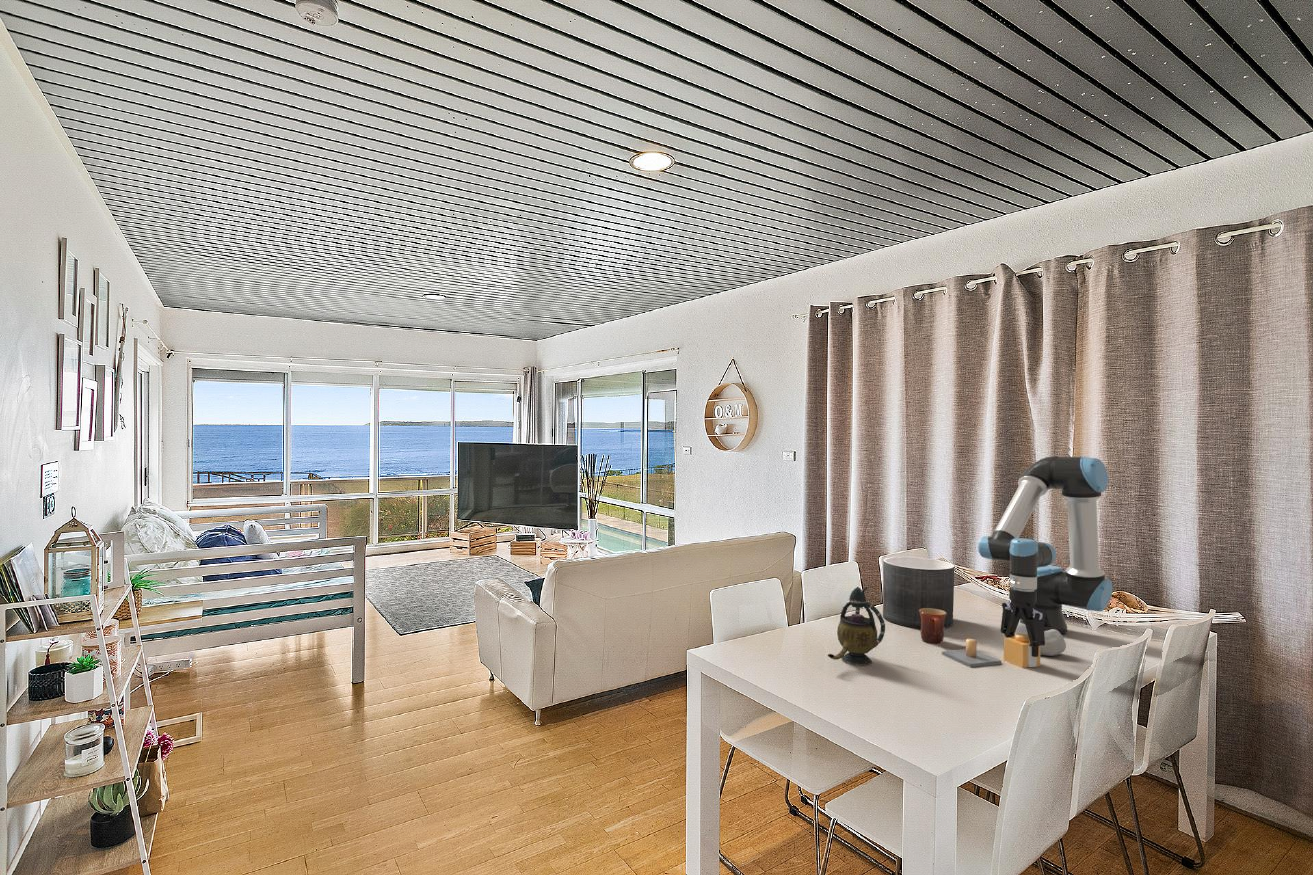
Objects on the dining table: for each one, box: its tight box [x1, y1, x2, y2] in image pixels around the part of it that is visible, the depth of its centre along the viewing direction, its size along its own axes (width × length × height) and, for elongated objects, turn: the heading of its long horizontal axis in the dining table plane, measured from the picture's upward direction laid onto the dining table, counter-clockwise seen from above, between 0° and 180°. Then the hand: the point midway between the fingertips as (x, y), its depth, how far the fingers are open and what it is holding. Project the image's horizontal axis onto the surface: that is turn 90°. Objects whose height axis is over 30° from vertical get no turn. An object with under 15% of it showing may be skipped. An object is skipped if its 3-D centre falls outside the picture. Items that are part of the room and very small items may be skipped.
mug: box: [919, 608, 946, 645], centre depth 221 cm, size 12×9×10 cm
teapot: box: [827, 586, 886, 667], centre depth 198 cm, size 12×25×23 cm, turn 135°
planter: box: [882, 556, 955, 629], centre depth 249 cm, size 25×25×22 cm
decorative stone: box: [1004, 622, 1067, 657], centre depth 213 cm, size 17×10×10 cm
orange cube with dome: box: [1003, 634, 1041, 669], centre depth 202 cm, size 7×7×9 cm
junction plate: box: [941, 638, 1003, 668], centre depth 204 cm, size 12×12×6 cm
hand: (1021, 661), depth 202 cm, fingers closed on orange cube with dome, 7 cm apart
